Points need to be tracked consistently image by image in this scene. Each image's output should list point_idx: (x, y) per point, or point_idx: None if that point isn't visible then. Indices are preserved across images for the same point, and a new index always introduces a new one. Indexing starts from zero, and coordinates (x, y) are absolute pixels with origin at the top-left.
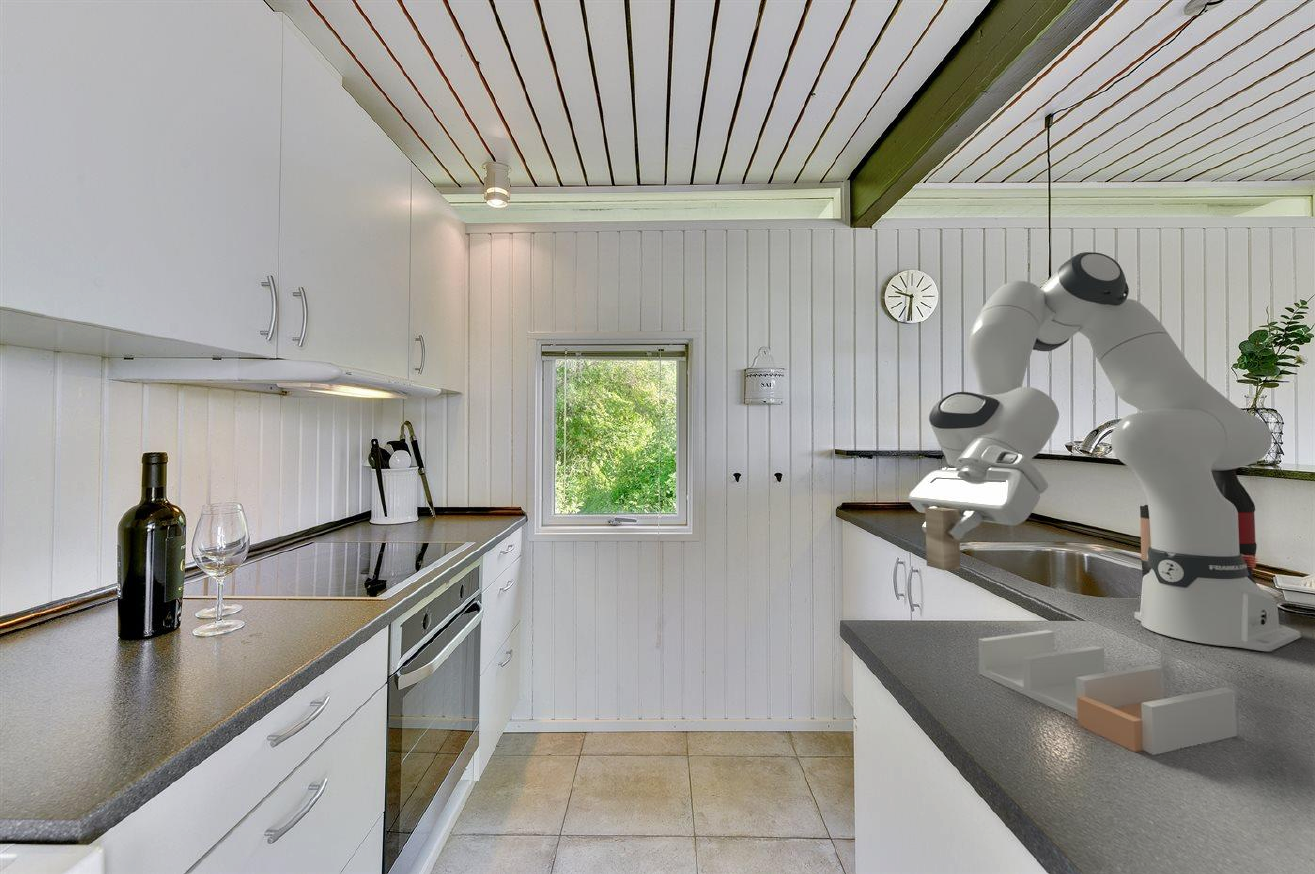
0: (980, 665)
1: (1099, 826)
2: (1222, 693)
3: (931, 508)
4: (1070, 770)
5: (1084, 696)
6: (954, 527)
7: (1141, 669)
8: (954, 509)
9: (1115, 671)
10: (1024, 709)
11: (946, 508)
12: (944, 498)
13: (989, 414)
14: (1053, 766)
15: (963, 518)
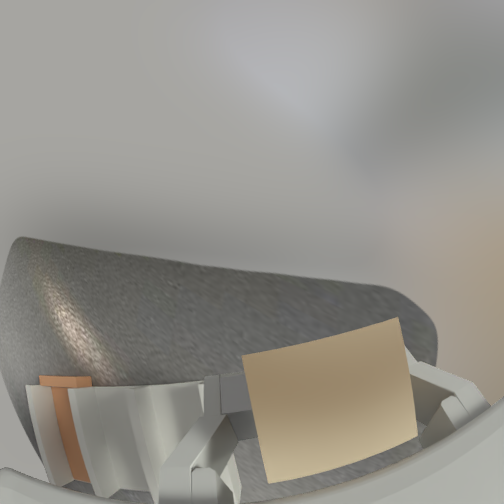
0: None
1: (19, 267)
2: (46, 472)
3: (390, 356)
4: (47, 300)
5: (76, 386)
6: (212, 394)
7: (91, 476)
8: (297, 472)
9: (86, 446)
10: (122, 354)
11: (367, 451)
12: (447, 475)
13: None
14: (53, 293)
15: (194, 447)
